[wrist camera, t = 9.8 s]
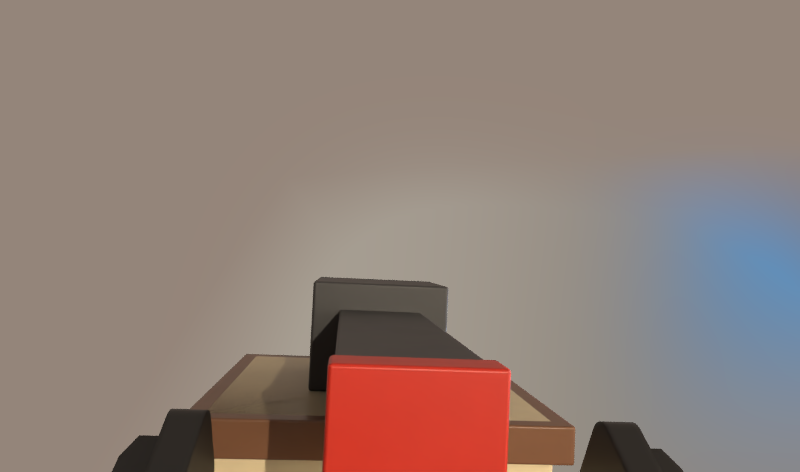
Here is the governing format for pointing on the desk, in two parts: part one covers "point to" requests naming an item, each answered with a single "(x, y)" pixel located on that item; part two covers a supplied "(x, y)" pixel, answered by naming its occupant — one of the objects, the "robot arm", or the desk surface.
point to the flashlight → (402, 382)
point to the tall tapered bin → (305, 420)
